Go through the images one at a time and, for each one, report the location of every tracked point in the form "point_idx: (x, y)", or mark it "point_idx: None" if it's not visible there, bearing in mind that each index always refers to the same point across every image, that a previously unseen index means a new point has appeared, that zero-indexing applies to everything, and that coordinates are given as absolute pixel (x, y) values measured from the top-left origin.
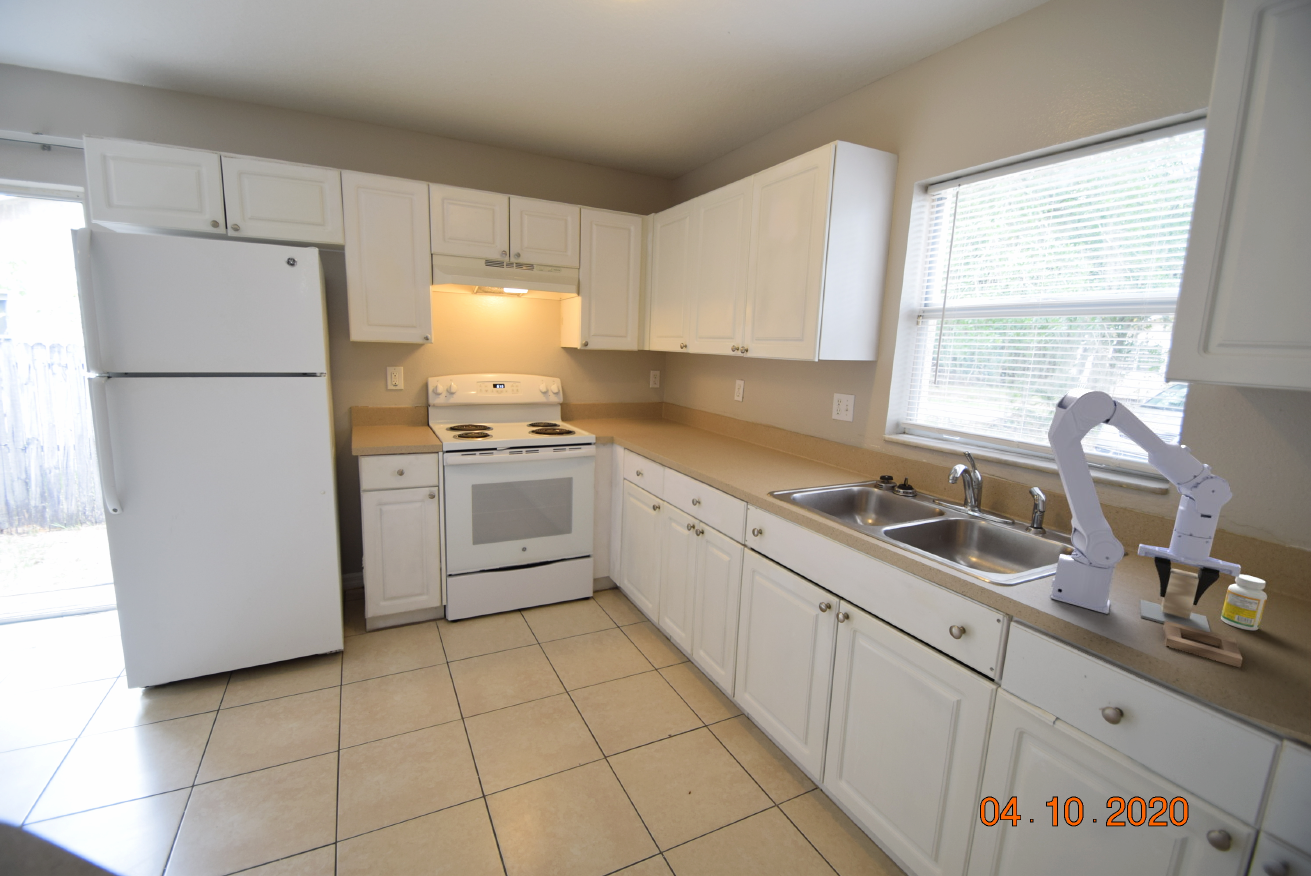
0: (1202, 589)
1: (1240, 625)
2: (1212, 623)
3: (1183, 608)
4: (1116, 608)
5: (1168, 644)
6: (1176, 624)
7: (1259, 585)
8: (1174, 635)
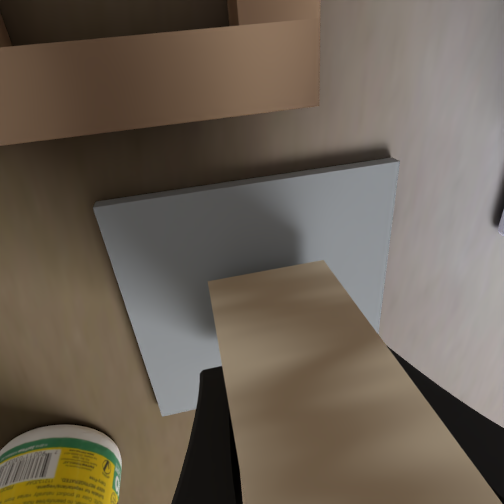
0: (197, 493)
1: (40, 435)
2: (132, 383)
3: (251, 305)
4: (478, 183)
5: None
6: (258, 86)
7: None
8: None
